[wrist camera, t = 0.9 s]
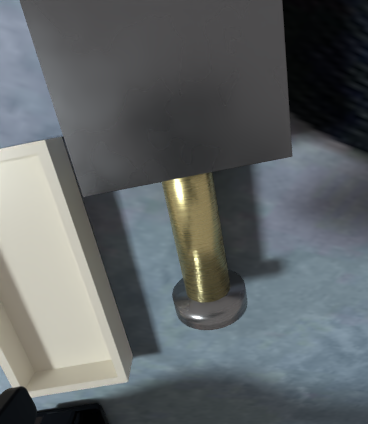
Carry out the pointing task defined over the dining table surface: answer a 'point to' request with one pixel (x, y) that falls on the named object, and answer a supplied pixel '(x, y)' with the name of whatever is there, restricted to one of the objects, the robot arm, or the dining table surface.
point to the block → (163, 86)
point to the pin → (202, 256)
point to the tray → (53, 280)
